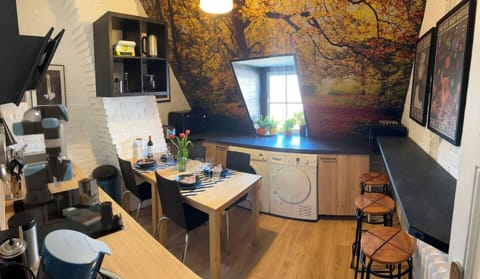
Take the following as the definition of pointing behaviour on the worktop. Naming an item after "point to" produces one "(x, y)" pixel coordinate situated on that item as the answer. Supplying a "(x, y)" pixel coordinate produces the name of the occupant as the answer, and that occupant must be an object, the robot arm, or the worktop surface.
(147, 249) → the worktop surface
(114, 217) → the scope
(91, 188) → the coffee box
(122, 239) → the worktop surface
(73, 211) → the block
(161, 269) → the worktop surface
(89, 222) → the panel
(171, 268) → the worktop surface
